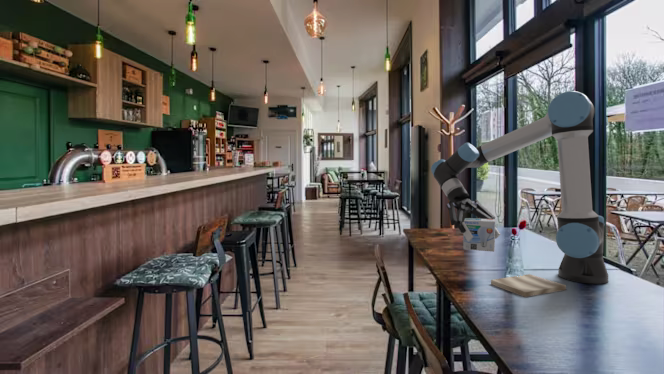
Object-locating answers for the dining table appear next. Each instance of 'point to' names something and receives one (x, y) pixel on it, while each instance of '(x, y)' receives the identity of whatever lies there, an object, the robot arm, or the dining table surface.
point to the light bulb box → (480, 234)
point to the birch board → (528, 285)
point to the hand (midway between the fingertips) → (484, 238)
